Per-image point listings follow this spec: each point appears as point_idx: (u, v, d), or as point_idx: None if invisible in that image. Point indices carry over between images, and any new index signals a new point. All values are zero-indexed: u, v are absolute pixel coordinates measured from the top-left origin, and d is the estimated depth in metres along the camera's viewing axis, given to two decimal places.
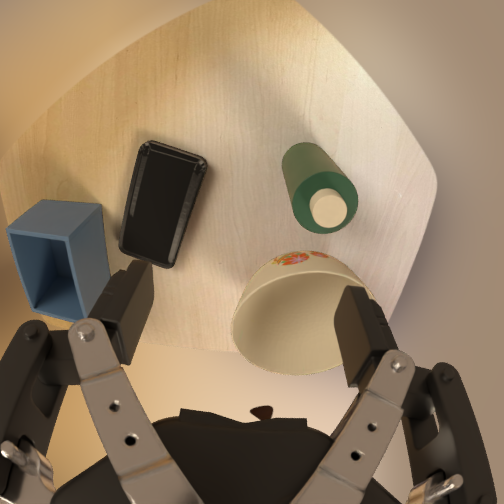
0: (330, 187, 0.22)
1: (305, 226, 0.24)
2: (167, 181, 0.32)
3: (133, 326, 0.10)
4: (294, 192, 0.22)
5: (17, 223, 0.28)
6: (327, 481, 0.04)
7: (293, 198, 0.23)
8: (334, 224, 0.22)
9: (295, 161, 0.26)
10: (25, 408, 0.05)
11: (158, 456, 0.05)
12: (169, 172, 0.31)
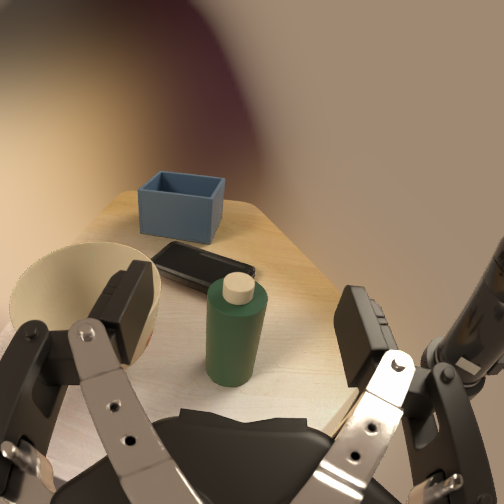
0: (253, 297, 0.26)
1: (216, 282, 0.27)
2: (223, 275, 0.44)
3: (133, 326, 0.10)
4: None
5: (223, 187, 0.56)
6: (327, 481, 0.04)
7: None
8: (227, 283, 0.25)
9: None
10: (25, 408, 0.05)
11: (157, 456, 0.05)
12: None
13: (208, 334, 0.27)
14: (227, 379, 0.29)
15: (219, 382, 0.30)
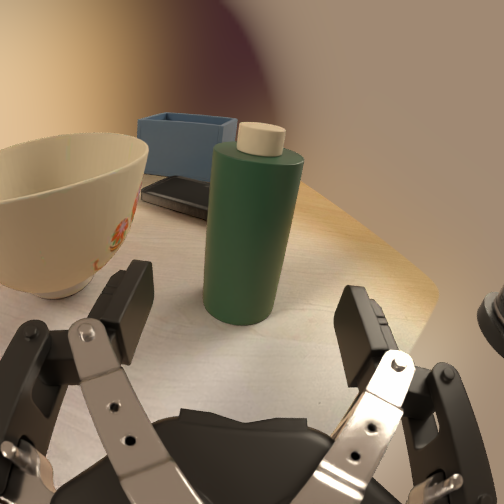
0: (282, 155, 0.17)
1: (227, 142, 0.18)
2: None
3: (133, 326, 0.10)
4: None
5: (235, 127, 0.47)
6: (327, 481, 0.04)
7: None
8: (245, 124, 0.16)
9: None
10: (25, 408, 0.05)
11: (158, 456, 0.05)
12: None
13: (210, 219, 0.18)
14: (234, 308, 0.19)
15: (222, 316, 0.20)
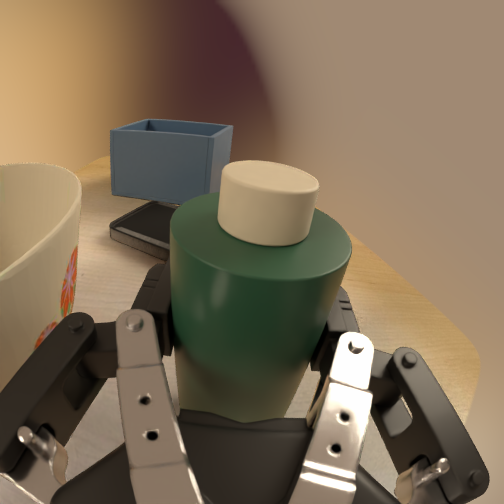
0: (310, 232, 0.09)
1: (202, 196, 0.10)
2: None
3: None
4: None
5: (230, 136, 0.39)
6: (327, 481, 0.04)
7: None
8: (234, 173, 0.07)
9: None
10: (53, 398, 0.06)
11: (175, 456, 0.05)
12: None
13: (176, 343, 0.10)
14: None
15: None
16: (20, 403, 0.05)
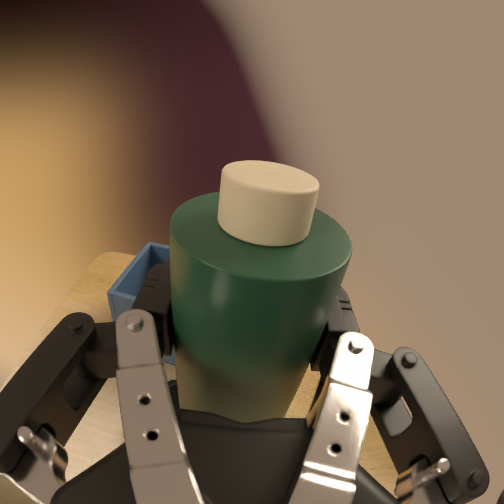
0: (310, 233, 0.09)
1: (202, 196, 0.10)
2: None
3: None
4: None
5: None
6: (327, 481, 0.04)
7: None
8: (234, 173, 0.07)
9: None
10: (53, 398, 0.06)
11: (175, 456, 0.05)
12: None
13: (176, 343, 0.10)
14: None
15: None
16: (20, 403, 0.05)
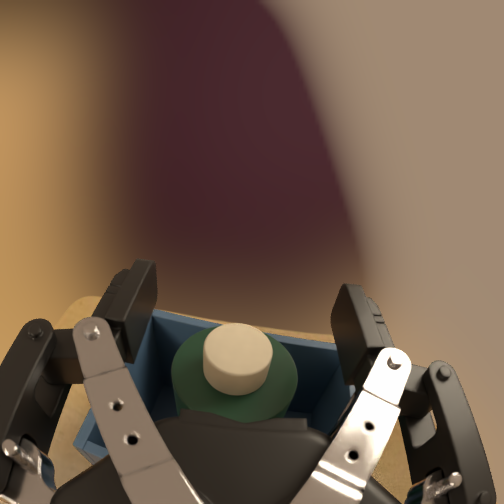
0: (268, 376, 0.12)
1: (193, 338, 0.13)
2: None
3: (137, 325, 0.10)
4: None
5: None
6: (327, 481, 0.04)
7: None
8: (211, 352, 0.11)
9: None
10: (28, 407, 0.06)
11: (159, 456, 0.05)
12: None
13: None
14: None
15: None
16: None
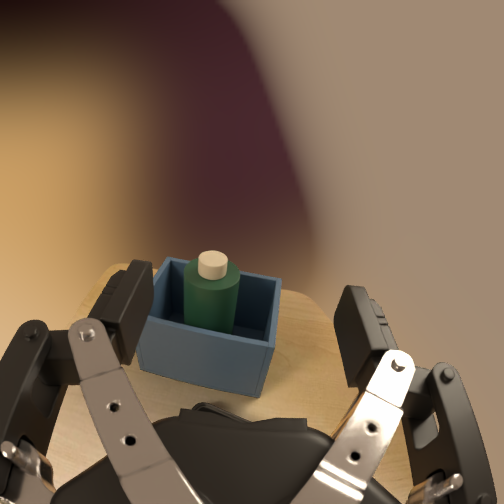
0: (226, 274, 0.28)
1: (193, 260, 0.29)
2: None
3: (133, 326, 0.10)
4: None
5: None
6: (327, 481, 0.04)
7: None
8: (201, 259, 0.27)
9: None
10: (25, 408, 0.05)
11: (158, 456, 0.05)
12: None
13: (184, 310, 0.29)
14: None
15: None
16: None
